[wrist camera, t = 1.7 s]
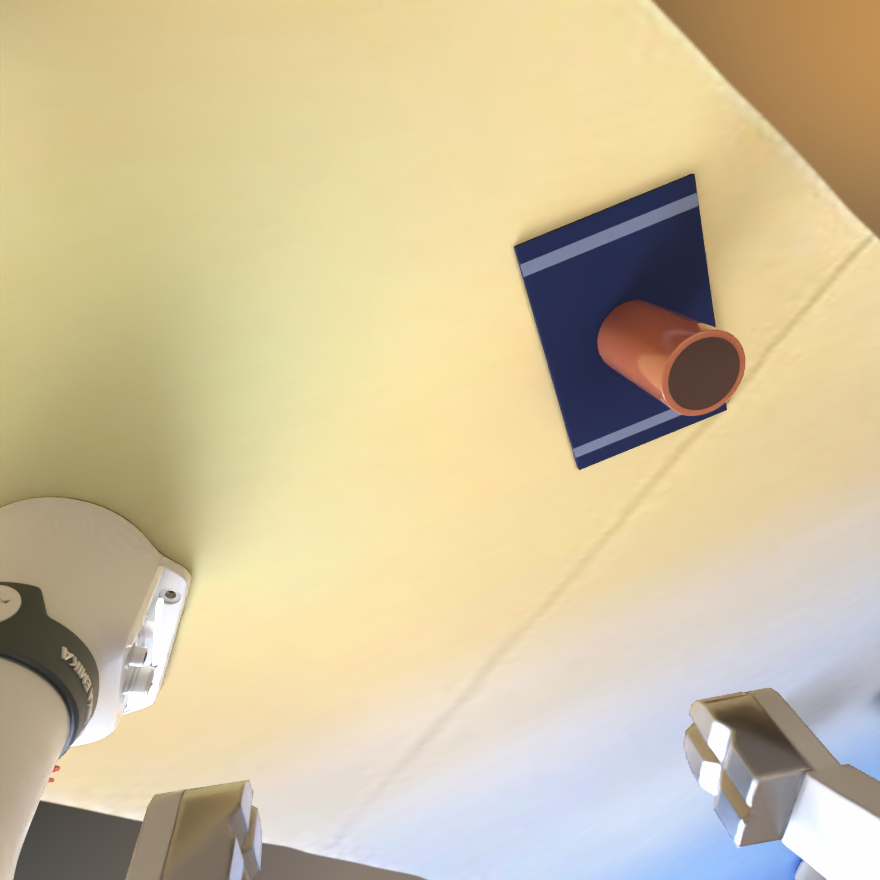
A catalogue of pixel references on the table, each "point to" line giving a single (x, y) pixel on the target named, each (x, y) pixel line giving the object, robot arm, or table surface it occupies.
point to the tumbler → (672, 356)
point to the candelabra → (807, 872)
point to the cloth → (602, 290)
